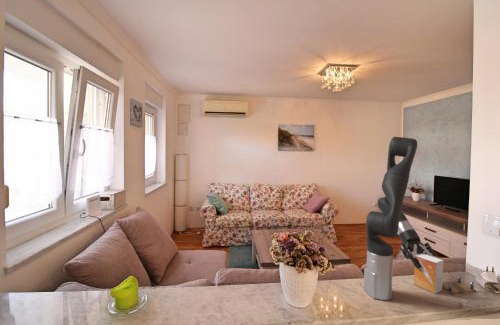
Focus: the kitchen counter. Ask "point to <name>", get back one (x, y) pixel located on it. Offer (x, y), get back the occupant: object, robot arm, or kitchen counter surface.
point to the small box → (429, 273)
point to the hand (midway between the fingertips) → (427, 267)
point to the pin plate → (458, 287)
